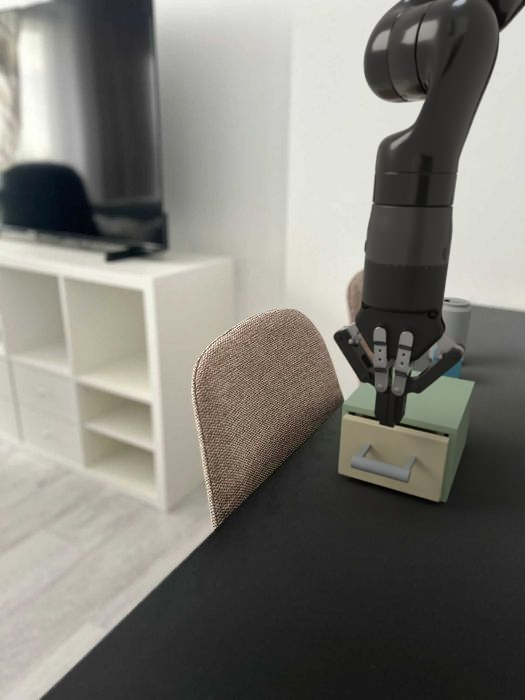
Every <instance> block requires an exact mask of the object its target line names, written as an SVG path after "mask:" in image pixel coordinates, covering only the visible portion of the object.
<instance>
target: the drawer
mask: <svg viewBox="0 0 525 700" xmlns="http://www.w3.org/2000/svg"><path fill="white" fill-rule="evenodd" d="M341 424H342V430H341V429H340V439H341V444H340V443H339V453H340V458H339V457H338V466H339V472H338V474H339V475H343V476H347V477H349V478H353V479H357V480H360V481H364V482H367V483H370V484H374V485H378V486H381V487H385V488H388V489H392V490H395V491H398V492H401V493H405V494H408V495H412V496H416V497H419V498H423V499H426V500H430V501H433V502H437V503H439V502H440V501H439V500H440V497H441V491H442V484H443V478H444V471H445V464H446V458H447V451H448V444H449V438H448V435H449V434H446V433H442V432H438V431H433V430H429V429H425V428H420V427H416V426H412V425H407V424H403V423H399V424H398V423H396V425H395V426H394V428H391V427H387V426H383V425H379V419H376V418H375V417H372V416H368V415H364V414H359V413H355V416H353V415H349V414H345V415H344V416H343V418H342V417H341Z"/></svg>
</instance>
